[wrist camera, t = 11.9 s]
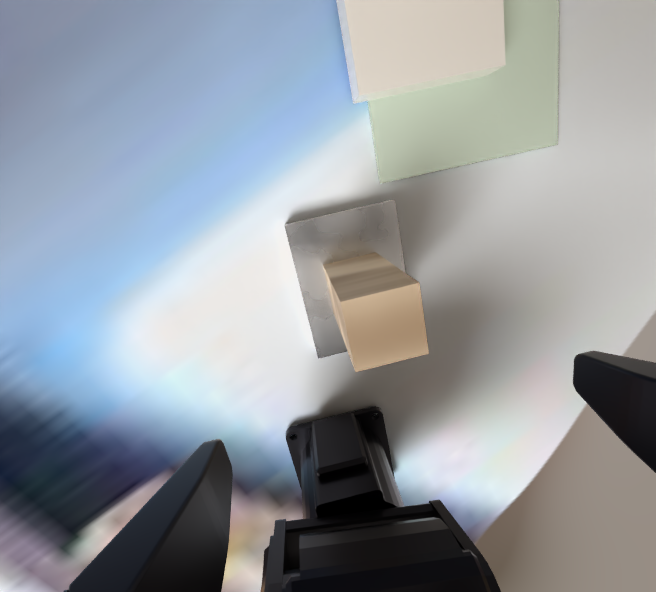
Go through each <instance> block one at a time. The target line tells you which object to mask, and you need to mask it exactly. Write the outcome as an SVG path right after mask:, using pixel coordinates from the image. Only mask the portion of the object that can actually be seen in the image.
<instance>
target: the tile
mask: <svg viewBox="0 0 656 592" xmlns="http://www.w3.org/2000/svg"><path fill="white" fill-rule="evenodd" d="M336 2H337V8H338V14H339V20H340V26H341V32H342V38H343V44H344V51H345V57H346V63H347V69H348V75H349V81H350V87H351V93H352V99H353V104H355V103H360V102H365V101H370V100H374V99H379V98H384V97H388V96H393V95H398V94H403V93H407V92H412V91H417V90H422V89H426V88H431V87H436V86H440V85H445V84H450V83H455V82H459V81H464V80H469V79H474V78H478V77H483V76H488V75H489V74H491V73H493V72H494V71H496V70H498V69H500V68H501V67H503V66H505V65H506V62H505V33H504V4H503V0H336Z"/></svg>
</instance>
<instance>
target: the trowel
mask: <svg viewBox="0 0 656 592" xmlns="http://www.w3.org/2000/svg"><path fill="white" fill-rule="evenodd" d="M285 229H286V233H287V237H288V241H289V245H290V249H291V253H292V257H293V261H294V265H295V268H296V272H297V276H298V280H299V284H300V288H301V292H302V296H303V300H304V304H305V308H306V312H307V316H308V320H309V323H310V327H311V331H312V335H313V339H314V343H315V347H316V351H317V355H318V358H322V357H326V356H330V355H334V354H338V353H342V352H346V351H348V353H349V356H350V358H351V361H352V364H353V366H354V369H355V372H359V371H363V370H367V369H371V368H375V367H379V366H383V365H387V364H390V363H394V362H398V361H402V360H406V359H410V358H414V357H418V356H422V355H426V354H429V350H428V343H427V335H426V328H425V321H424V313H423V306H422V298H421V291H420V283H419V282H418V281H416V280H415V279H413V278H412V277H411V276H409V275H408V274H406V271H405V264H404V258H403V251H402V244H401V237H400V230H399V223H398V217H397V210H396V203H395V200H387V201H383V202H379V203H374V204H370V205H366V206H362V207H357V208H353V209H349V210H344V211H340V212H336V213H331V214H327V215H323V216H319V217H314V218H310V219H306V220H301V221H297V222H293V223H288V224H285Z"/></svg>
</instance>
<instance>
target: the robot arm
mask: <svg viewBox="0 0 656 592" xmlns="http://www.w3.org/2000/svg"><path fill="white" fill-rule="evenodd" d="M573 384H574V387H575V389H576V391H577V392H578V394H579V395H580V396H581V397H582V398H583V399H584V400H585V401H586V402H587V404H588V405H589V406H590V407H591V408H592V409H593V410H594V411H595V412H596V413H597V414H598V416H599V417H600V418H601V419H602V420H603V421H604V422H605V423H606V424H607V425H608V426H609V428H610V429H611V430H612V431H613V432H614V433H615V434H616V435H617V436H618V437H619V438H620V439H621V440H622V441H623V443H624V444H626V446H627V447H629V448H630V449H631V450H632V451H633V452H634V453H635V454H636V455H637V456H638V457H639V458H640V459H641V460H642V461H643V462H645V463H646V464H647V465H648V466H649V467H650V468H651V469H652V470H653V471H654V472H655V473H656V363H654V362H649V361H644V360H638V359H633V358H629V357H623V356H618V355H613V354H608V353H603V352H598V351H589V352H585V353H581V354H578V355H576V357H575V358H574V371H573ZM374 413H377V415H375V416H372V415H373V414H374ZM292 434H296V436H291V435H292ZM286 441H287V444H288V447H289V451H290V454H291V457H292V460H293V464H294V467H295V470H296V473H297V477H298V480H299V483H300V487H301V490H302V508H303V519H300V520H292V521H286V519H283V520H275V529H274V536H271V537H270V545H269V546H268V547H267V548H266V549H265V551H264V565H263V578H262V587H261V592H501V591H500V588H499V586H498V584H497V581H496V579H495V577H494V574H493V573H492V571H491V569H490V567H489V565H488V563H487V562H486V560H485V559H484V557H483V556H482V554H481V553H480V551H479V550H478V549H477V548H476V546H475V545H474V544H473V542H472V541H471V540H470V538H469V537H468V536H467V535H466V533H465V532H464V531H463V529H462V528H461V527H460V525H459V524H458V523H457V522H456V520H455V519H454V518H453V516H452V515H451V514H450V512H449V511H448V510H447V509H446V507H445V506H444V505H443V503H442V502H441V501H440V500H433V501H429V503H426V504H418V505H410V506H404V503H403V501H402V498H401V495H400V493H399V490H398V487H397V484H396V482H395V478H394V472H393V467H392V462H391V456H390V451H389V446H388V440H387V435H386V430H385V424H384V419H383V414H382V412H381V410H380V408H379V407H376V406H374V407H369V408H365V409H361V410H357V411H353V412H349V413H345V414H341V415H337V416H333V417H329V418H325V419H321V420H317V421H313V422H309V423H305V424H301V425H297V426H293V427H290V428H288V429H287V431H286ZM232 476H233V473H232V466H231V463H230V460H229V457H228V454H227V452H226V449H225V446H224V443H223V442H222V440H220V439H216V440H212V441H208V442H204V443H203V444H202V445H201V446H200V447H199V448H198V449H197V450H196V451H195V452H194V453H193V454H192V455H191V456H190V457H189V458H188V459H187V460H186V462H185V463H184V464H183V465H182V466H181V467H180V468H179V469H178V470H177V471H176V472H175V473H174V474H173V475H172V476H171V478H170V479H169V480H168V481H167V482H166V483H165V484H164V485H163V486H162V487H161V488H160V489H159V490H158V491H157V492H156V494H155V495H154V496H153V497H152V498H151V499H150V500H149V501H148V502H147V503H146V504H145V505H144V506H143V507H142V508H141V510H140V511H139V512H138V513H137V514H136V515H135V516H134V517H133V518H132V519H131V520H130V521H129V522H128V523H127V525H126V526H125V527H124V528H123V529H122V530H121V531H120V532H119V533H118V534H117V535H116V536H115V537H114V538H113V539H112V541H111V542H110V543H109V544H108V545H107V546H106V547H105V548H104V549H103V550H102V551H101V552H100V553H99V554H98V555H97V557H96V558H95V559H94V560H93V561H92V562H91V563H90V564H89V565H88V566H87V567H86V568H85V569H84V570H83V571H82V573H81V574H80V575H79V576H78V577H77V578H76V579H75V580H74V581H73V582H72V583H71V584H70V586H69V590H65V591H64V592H221V589H222V583H223V577H224V571H225V564H226V558H227V551H228V543H229V530H230V512H231V494H232Z"/></svg>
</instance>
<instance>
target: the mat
mask: <svg viewBox="0 0 656 592" xmlns="http://www.w3.org/2000/svg"><path fill="white" fill-rule="evenodd" d="M503 4H504V33H505V62H506V65H505V66H503V67H501V68H500V69H498V70H496V71H494V72H493V73H491V74H489V75H488V76H483V77H478V78H474V79H469V80H464V81H459V82H455V83H450V84H445V85H440V86H436V87H431V88H426V89H422V90H417V91H412V92H407V93H403V94H398V95H393V96H388V97H384V98H379V99H374V100H370V101H368V108H369V114H370V121H371V128H372V134H373V141H374V148H375V154H376V161H377V168H378V174H379V181H380V184H382V183H386V182H391V181H395V180H400V179H405V178H409V177H414V176H418V175H423V174H427V173H432V172H436V171H441V170H445V169H450V168H454V167H459V166H463V165H468V164H472V163H477V162H482V161H486V160H491V159H495V158H500V157H504V156H509V155H513V154H518V153H522V152H527V151H531V150H536V149H540V148H545V147H549V146H554V145H558V55H559V0H503Z"/></svg>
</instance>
